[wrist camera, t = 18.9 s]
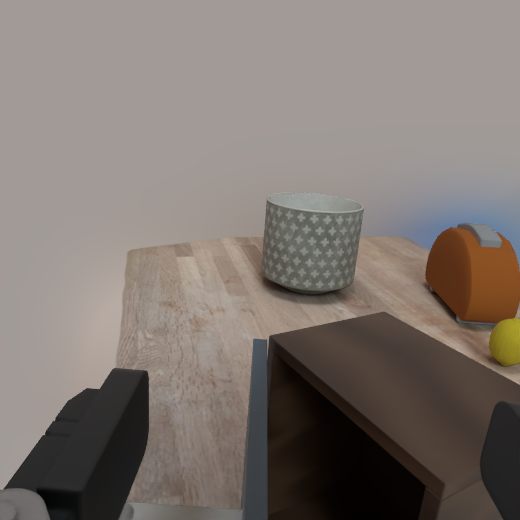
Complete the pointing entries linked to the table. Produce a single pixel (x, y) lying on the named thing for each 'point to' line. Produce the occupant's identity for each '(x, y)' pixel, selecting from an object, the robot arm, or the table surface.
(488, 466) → the robot arm
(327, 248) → the planter
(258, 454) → the door
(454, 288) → the orange toaster
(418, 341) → the cupboard
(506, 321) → the lemon
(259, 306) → the table surface
